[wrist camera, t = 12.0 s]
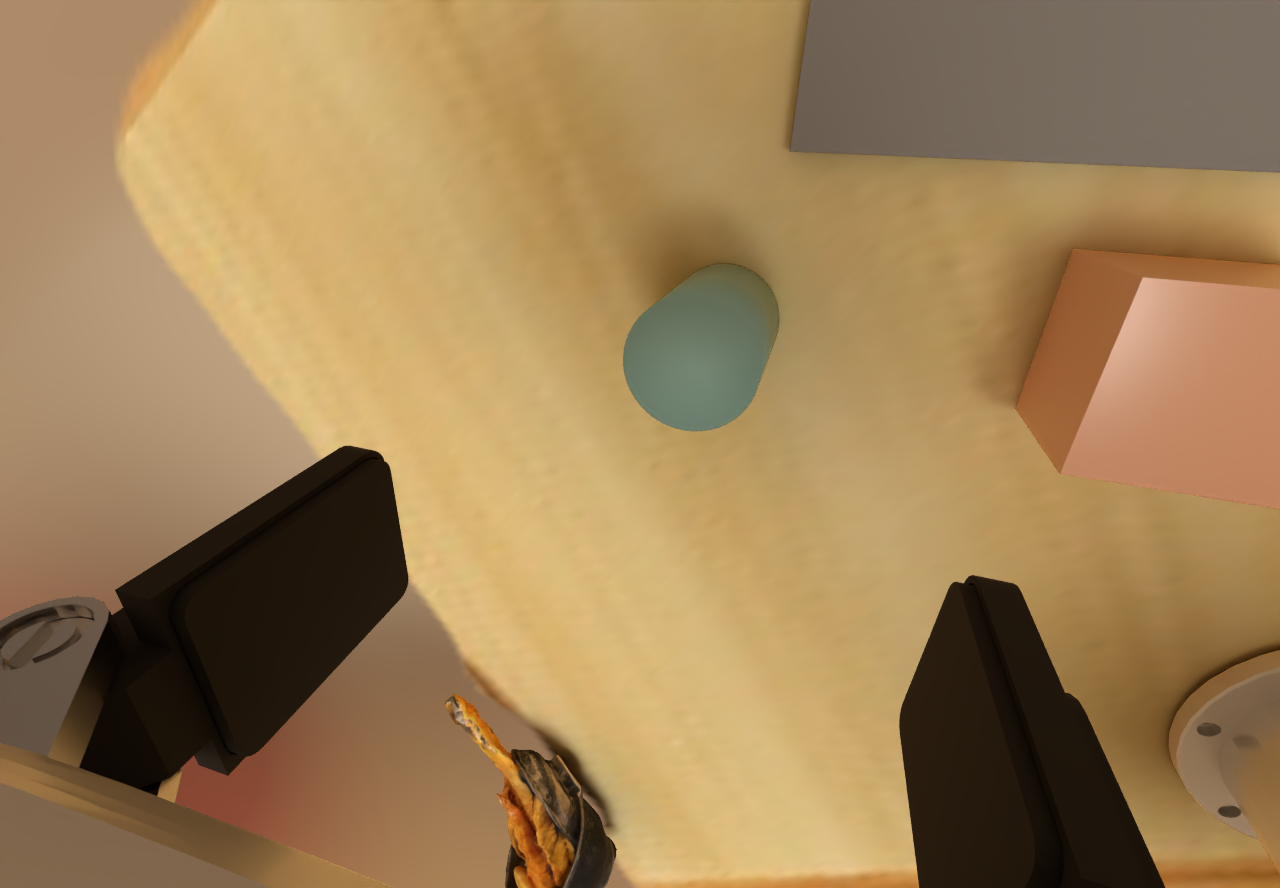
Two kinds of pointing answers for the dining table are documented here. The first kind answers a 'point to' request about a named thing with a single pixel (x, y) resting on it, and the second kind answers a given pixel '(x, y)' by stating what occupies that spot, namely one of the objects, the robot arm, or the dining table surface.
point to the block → (1162, 375)
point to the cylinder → (703, 348)
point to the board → (1045, 81)
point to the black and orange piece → (542, 815)
